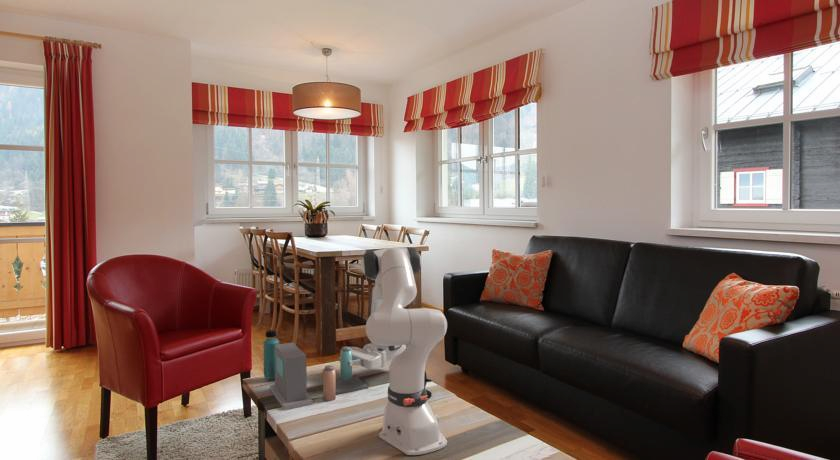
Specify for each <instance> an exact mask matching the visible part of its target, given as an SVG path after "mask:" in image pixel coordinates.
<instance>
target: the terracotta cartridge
mask: <svg viewBox="0 0 840 460" xmlns="http://www.w3.org/2000/svg"><path fill="white" fill-rule="evenodd" d="M322 377H323V378H322V390H323V391H322V392H323V393H322V394H323V395H322V396H323V397H322V399H323V401H325V402H333V401H335V400H336V396H337V395H336V379H337V378H336V377H337V376H336V367H334V365H331V364H329V365H325V366H324V368H323V369H322Z"/></svg>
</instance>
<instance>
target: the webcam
mask: <svg viewBox="0 0 840 460" xmlns="http://www.w3.org/2000/svg"><path fill="white" fill-rule="evenodd" d="M431 382H432V379H429V378H427V373H426V370H425V375H424V386H425V387H426V385H427V383H431ZM426 392H427V395H428V396H427V398H429V399H430V398H431V397H432V395H433V394H432V391H430V390H428V389H426Z"/></svg>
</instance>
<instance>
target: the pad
mask: <svg viewBox="0 0 840 460" xmlns="http://www.w3.org/2000/svg"><path fill="white" fill-rule="evenodd" d="M367 389H369V385H368V384H367V383H365V381H363V380H362V379H361V378H359V376H357V375H356V374H355V375H352V378H351V379H349V380H343V379H341V378H338V377H337V378H336V396H337V395H341V394H342V395H343V394H346V393H351V392H356V391H361V390H367Z"/></svg>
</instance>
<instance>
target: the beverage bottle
mask: <svg viewBox="0 0 840 460" xmlns="http://www.w3.org/2000/svg"><path fill="white" fill-rule="evenodd" d="M265 337H266V339H265V340H264V341H263V342H262V344H263V347H262V348H263V376H264V378H265V379H275V345H279V344H280V340H279V339H278V338H277V330H275V329H270V330H267V331H266V332H265Z"/></svg>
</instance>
